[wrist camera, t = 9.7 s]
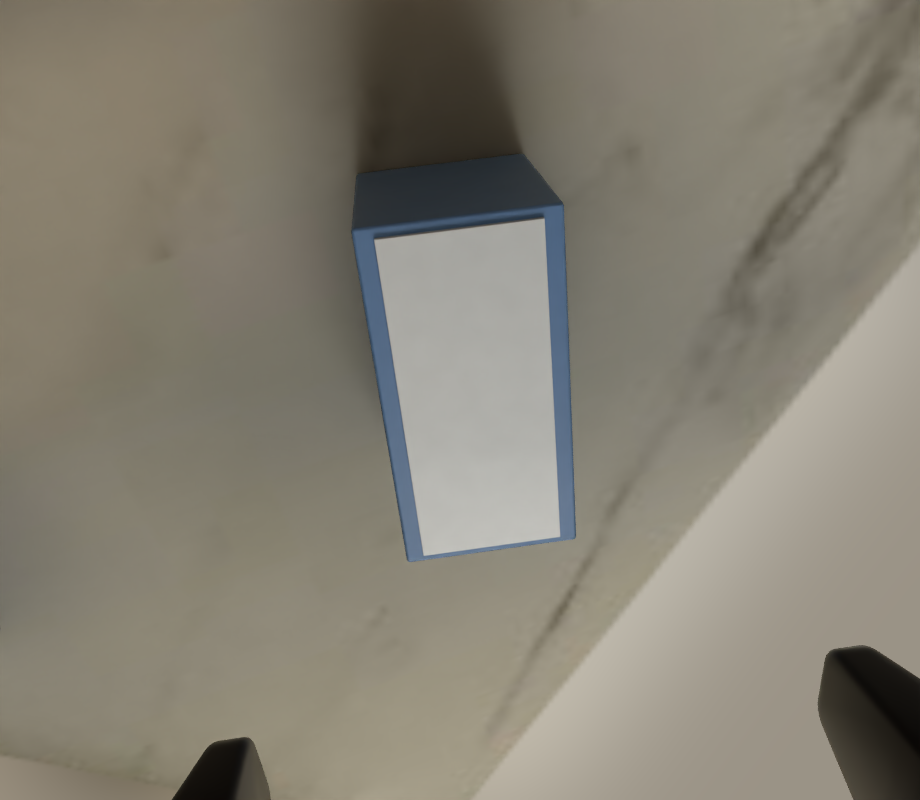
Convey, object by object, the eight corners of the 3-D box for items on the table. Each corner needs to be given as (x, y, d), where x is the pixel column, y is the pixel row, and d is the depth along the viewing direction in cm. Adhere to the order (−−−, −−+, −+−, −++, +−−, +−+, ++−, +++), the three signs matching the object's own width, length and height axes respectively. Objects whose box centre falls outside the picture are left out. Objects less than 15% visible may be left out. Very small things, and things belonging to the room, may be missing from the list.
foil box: (541, 439, 20) (577, 542, 16) (401, 458, 20) (407, 566, 16) (524, 152, 16) (565, 203, 13) (355, 173, 16) (350, 230, 13)
